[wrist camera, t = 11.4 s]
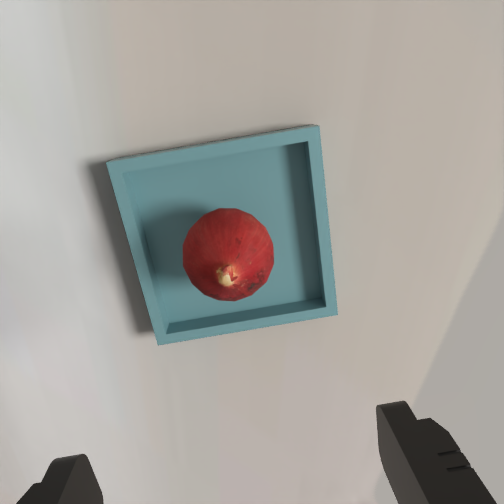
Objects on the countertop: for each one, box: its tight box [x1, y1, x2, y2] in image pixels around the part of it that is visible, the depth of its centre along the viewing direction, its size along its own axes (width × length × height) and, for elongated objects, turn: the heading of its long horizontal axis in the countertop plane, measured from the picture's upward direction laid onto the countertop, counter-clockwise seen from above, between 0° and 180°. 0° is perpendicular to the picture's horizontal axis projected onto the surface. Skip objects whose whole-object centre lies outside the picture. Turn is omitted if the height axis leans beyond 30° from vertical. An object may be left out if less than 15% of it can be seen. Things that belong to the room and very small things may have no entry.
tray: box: [106, 124, 338, 345], centre depth 29 cm, size 14×14×2 cm
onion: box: [183, 208, 274, 301], centre depth 25 cm, size 6×6×8 cm
